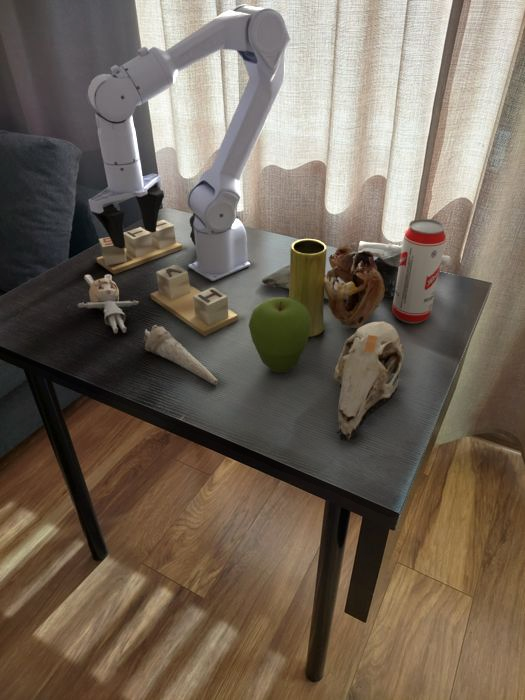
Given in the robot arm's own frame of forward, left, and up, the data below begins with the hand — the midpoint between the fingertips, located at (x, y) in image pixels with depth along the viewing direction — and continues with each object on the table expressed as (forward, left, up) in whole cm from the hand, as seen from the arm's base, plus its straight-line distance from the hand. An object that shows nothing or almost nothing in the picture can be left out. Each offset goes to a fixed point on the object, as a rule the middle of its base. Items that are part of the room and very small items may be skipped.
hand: (135, 238), depth 92 cm
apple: (-2, +35, -10) cm, 36 cm away
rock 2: (-28, +31, -8) cm, 43 cm away
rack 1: (-6, -11, -9) cm, 16 cm away
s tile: (0, -11, -8) cm, 14 cm away
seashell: (+8, +24, -10) cm, 27 cm away
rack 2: (-2, +13, -9) cm, 16 cm away
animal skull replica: (-5, +48, -9) cm, 49 cm away
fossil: (-22, +22, -9) cm, 32 cm away
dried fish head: (-21, +26, -8) cm, 34 cm away
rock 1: (-20, -4, -10) cm, 23 cm away
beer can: (-28, +40, -10) cm, 49 cm away
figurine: (-36, +20, -6) cm, 42 cm away
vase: (-12, +30, -9) cm, 34 cm away
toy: (+9, +4, -10) cm, 14 cm away
